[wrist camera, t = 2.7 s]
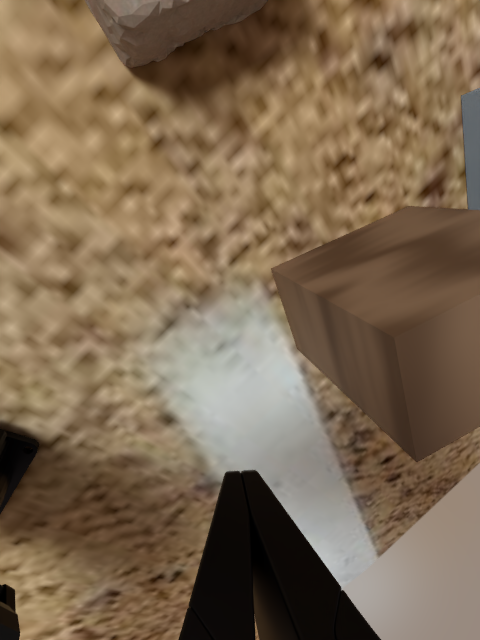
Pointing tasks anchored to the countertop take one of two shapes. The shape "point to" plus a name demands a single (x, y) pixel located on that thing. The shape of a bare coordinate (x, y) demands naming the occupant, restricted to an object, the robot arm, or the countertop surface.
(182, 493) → the countertop surface
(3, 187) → the countertop surface
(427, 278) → the walnut box
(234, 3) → the brick
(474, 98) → the slate board
